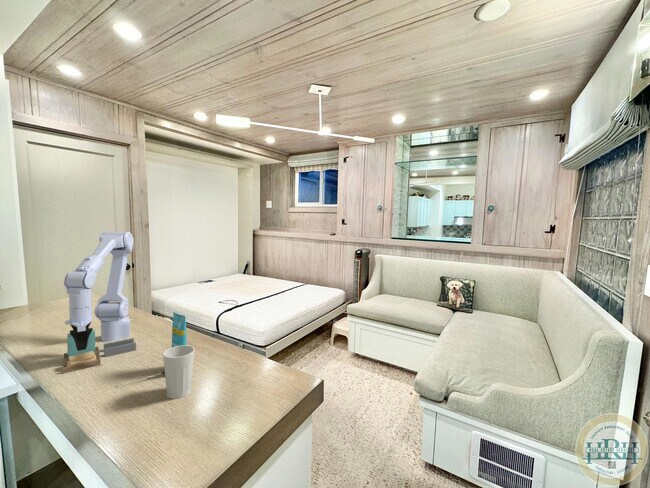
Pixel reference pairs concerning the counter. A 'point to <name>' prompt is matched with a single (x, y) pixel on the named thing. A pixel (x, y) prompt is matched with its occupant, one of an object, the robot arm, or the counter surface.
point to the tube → (179, 330)
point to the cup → (178, 370)
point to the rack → (81, 366)
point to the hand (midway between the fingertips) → (81, 345)
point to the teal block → (72, 346)
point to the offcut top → (81, 357)
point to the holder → (119, 347)
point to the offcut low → (81, 362)
